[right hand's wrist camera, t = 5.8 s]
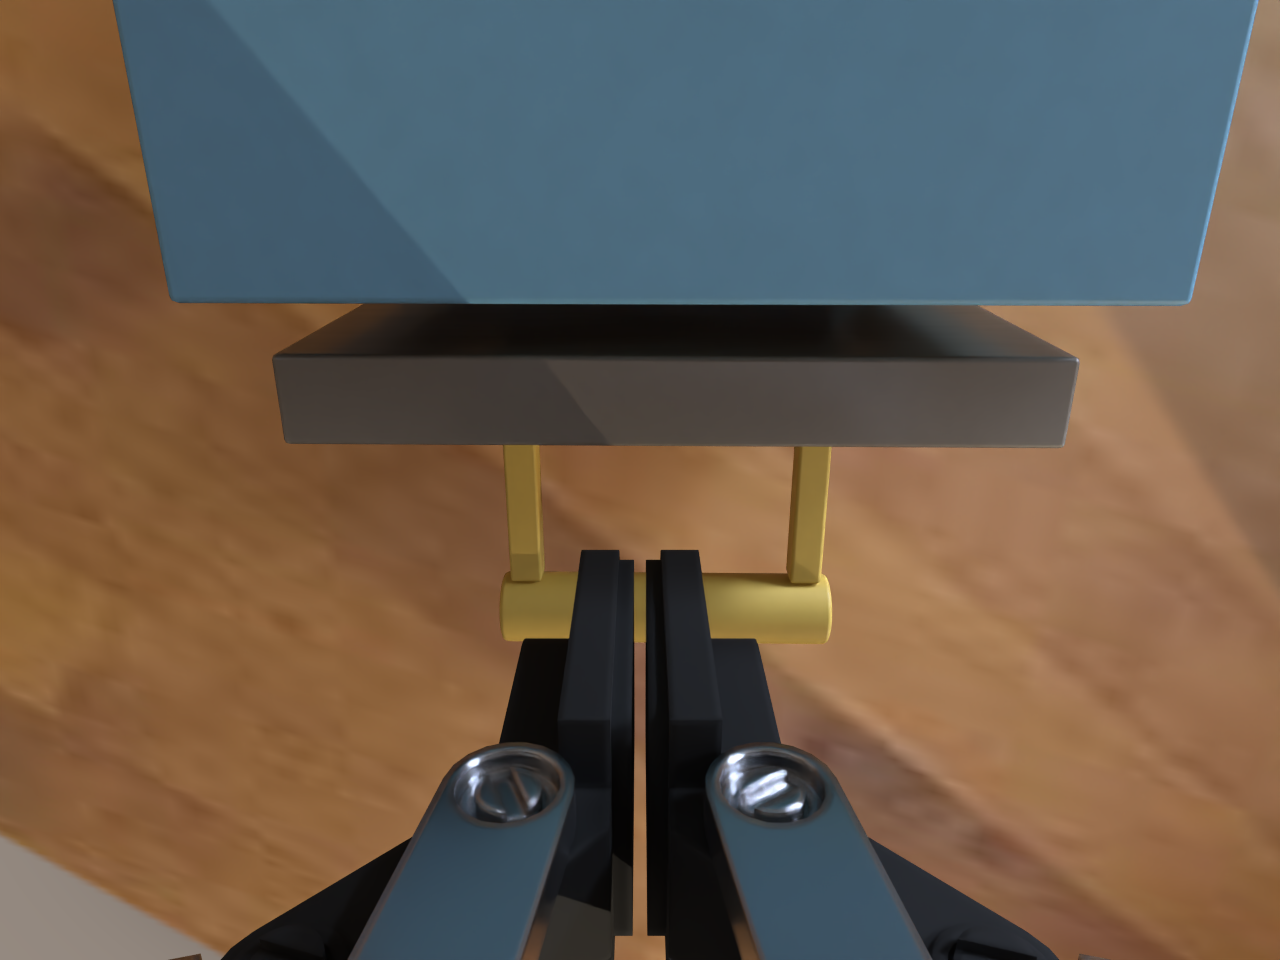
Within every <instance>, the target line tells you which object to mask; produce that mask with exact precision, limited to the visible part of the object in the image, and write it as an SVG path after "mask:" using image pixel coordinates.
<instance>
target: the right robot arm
mask: <svg viewBox="0 0 1280 960" xmlns="http://www.w3.org/2000/svg"><path fill="white" fill-rule="evenodd" d="M633 836H634V560H620V557H619V550H582V551H581V557H580V564H579V571H578V578H577V585H576V592H575V599H574V606H573V613H572V620H571V628H570V635H569V638H525V639H524V640H523V643H522V647H521V651H520V656H519V660H518V664H517V668H516V673H515V677H514V681H513V686H512V690H511V694H510V699H509V703H508V707H507V712H506V716H505V720H504V725H503V729H502V733H501V737H500V742H499V744H496V745H491V746H486V747H484V748H482V749H479V750H477V751H475V752H472V753H470V754H468V755H466V756H465V757H464V758H462V759H461V760H460V761H458V762H457V763H456V764H454V765H453V766H452V768H451V769H450V770H449V771H448V773H447V774H446V775H445V777H444V778H443V780H442V782H441V784H440V785H439V787H438V789H437V791H436V793H435V795H434V797H433V799H432V801H431V802H430V804H429V806H428V808H427V810H426V812H425V814H424V816H423V818H422V820H421V821H420V823H419V825H418V827H417V829H416V831H415V833H414V835H413V837H411V838H410V839H408V840H406V841H405V842H403V843H401V844H400V845H398V846H396V847H394V848H393V849H391V850H389V851H388V852H386V853H384V854H383V855H381V856H379V857H378V858H376V859H374V860H373V861H371V862H369V863H368V864H366V865H364V866H363V867H361V868H359V869H358V870H356V871H354V872H353V873H351V874H349V875H348V876H346V877H344V878H343V879H341V880H339V881H338V882H336V883H334V884H332V885H331V886H329V887H327V888H326V889H324V890H322V891H321V892H319V893H317V894H316V895H314V896H312V897H311V898H309V899H307V900H306V901H304V902H302V903H301V904H299V905H297V906H296V907H294V908H292V909H291V910H289V911H287V912H286V913H284V914H282V915H281V916H279V917H277V918H276V919H274V920H272V921H270V922H269V923H267V924H265V925H264V926H262V927H260V928H259V929H257V930H255V931H254V932H252V933H251V934H250V935H248V936H247V937H245V938H244V939H243V940H241V941H240V942H239V943H237V944H236V945H235V946H233V947H232V948H231V949H230V950H229V951H228V952H227V953H226V954H225V956H224V957H223V958H222V959H221V960H614V947H615V936H632V935H633ZM646 836H647V935H648V936H665V947H666V960H1059V959H1058V958H1057V957H1056V956H1055V954H1054V953H1053V952H1052V951H1051V950H1050V949H1049V948H1048V947H1047V946H1045V945H1044V944H1043V943H1041V942H1040V941H1039V940H1037V939H1036V938H1035V937H1033V936H1032V935H1030V934H1029V933H1028V932H1026V931H1025V930H1023V929H1021V928H1020V927H1018V926H1016V925H1015V924H1013V923H1011V922H1009V921H1008V920H1006V919H1004V918H1003V917H1001V916H999V915H998V914H996V913H994V912H993V911H991V910H989V909H988V908H986V907H984V906H983V905H981V904H979V903H978V902H976V901H974V900H973V899H971V898H969V897H968V896H966V895H964V894H963V893H961V892H959V891H958V890H956V889H954V888H953V887H951V886H949V885H948V884H946V883H944V882H942V881H941V880H939V879H937V878H936V877H934V876H932V875H931V874H929V873H927V872H926V871H924V870H922V869H921V868H919V867H917V866H916V865H914V864H912V863H911V862H909V861H907V860H906V859H904V858H902V857H901V856H899V855H897V854H896V853H894V852H892V851H891V850H889V849H887V848H886V847H884V846H882V845H880V844H879V843H877V842H875V841H874V840H872V839H870V838H869V837H867V835H866V833H865V831H864V829H863V827H862V825H861V823H860V821H859V820H858V818H857V816H856V814H855V812H854V810H853V808H852V806H851V804H850V802H849V801H848V799H847V797H846V795H845V793H844V791H843V789H842V787H841V785H840V784H839V782H838V780H837V778H836V777H835V775H834V774H833V773H832V771H831V770H830V769H829V768H828V766H827V765H826V764H824V763H823V762H822V761H820V760H819V759H818V758H816V757H815V756H814V755H812V754H810V753H808V752H805V751H803V750H801V749H798V748H796V747H794V746H789V745H784V744H781V742H780V737H779V733H778V729H777V725H776V720H775V716H774V712H773V707H772V703H771V699H770V694H769V690H768V686H767V681H766V677H765V673H764V669H763V664H762V660H761V656H760V651H759V647H758V643H757V640H756V639H755V638H711V635H710V628H709V621H708V613H707V606H706V599H705V592H704V585H703V578H702V571H701V564H700V557H699V551H698V550H661V557H660V560H646ZM170 960H202V958H201V954H196V955H192V956H186V957H181V958H176V959H170ZM1078 960H1110V959H1104V958H1099V957H1094V956H1089V955H1084V954H1079V958H1078Z"/></svg>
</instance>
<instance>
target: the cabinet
mask: <svg viewBox="0 0 1280 960" xmlns="http://www.w3.org/2000/svg"><path fill="white" fill-rule="evenodd" d="M113 4H114V9H115V15H116V20H117V25H118V30H119V35H120V41H121V46H122V51H123V56H124V61H125V67H126V72H127V77H128V82H129V88H130V93H131V98H132V103H133V108H134V114H135V119H136V124H137V129H138V134H139V140H140V145H141V150H142V155H143V160H144V166H145V171H146V176H147V181H148V186H149V192H150V197H151V202H152V207H153V212H154V218H155V223H156V228H157V233H158V238H159V244H160V249H161V254H162V259H163V264H164V270H165V275H166V280H167V285H168V291H169V296H170V298H171V299H172V301H175V302H178V303H366V304H705V305H1045V306H1182V305H1185V304H1188V303H1189V302H1190V300H1191V298H1192V294H1193V289H1194V285H1195V280H1196V276H1197V271H1198V267H1199V262H1200V258H1201V254H1202V249H1203V245H1204V240H1205V236H1206V231H1207V227H1208V222H1209V218H1210V214H1211V209H1212V205H1213V200H1214V196H1215V191H1216V187H1217V182H1218V178H1219V174H1220V169H1221V165H1222V160H1223V156H1224V151H1225V147H1226V142H1227V138H1228V133H1229V129H1230V125H1231V120H1232V116H1233V111H1234V107H1235V102H1236V98H1237V93H1238V89H1239V85H1240V80H1241V76H1242V71H1243V67H1244V62H1245V58H1246V53H1247V49H1248V45H1249V40H1250V36H1251V31H1252V27H1253V22H1254V18H1255V13H1256V9H1257V5H1258V0H113Z"/></svg>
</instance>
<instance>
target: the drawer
mask: <svg viewBox="0 0 1280 960" xmlns="http://www.w3.org/2000/svg"><path fill="white" fill-rule="evenodd" d="M272 361H273V368H274V374H275V381H276V387H277V394H278V400H279V407H280V413H281V420H282V426H283V433H284V439H285V441H286V443H289V444H423V445H503V454H504V471H505V488H506V505H507V521H508V538H509V555H510V572H507V573H506V574H505V576H504V578H503V581H502V586H501V593H500V628H501V633H502V636H503V638H504V639H505V640H507V641H523V640H524V639H525V638H569V635H570V628H571V620H572V613H573V606H574V599H575V592H576V585H577V578H578V572H544V568H545V562H544V540H543V517H542V494H541V471H540V449H539V445H599V446H774V447H794V461H793V476H792V491H791V506H790V521H789V536H788V551H787V566H786V570H787V573H788V574H779V573H702V578H703V585H704V592H705V599H706V606H707V613H708V621H709V628H710V635H711V638H755V639H756V640H757V643H771V644H824V643H826V642H827V641H828V638H829V635H830V631H831V623H832V601H831V592H830V586H829V583H828V580H827V578H826V576H825V575H823V574H821V569H822V557H823V545H824V532H825V520H826V508H827V496H828V484H829V472H830V460H831V448H832V447H950V448H1061V447H1063V446H1064V444H1065V440H1066V434H1067V429H1068V423H1069V418H1070V412H1071V407H1072V402H1073V396H1074V391H1075V385H1076V380H1077V374H1078V369H1079V359H1078V358H1077V357H1075V356H1073V355H1071V354H1069V353H1067V352H1065V351H1063V350H1061V349H1060V348H1058V347H1056V346H1054V345H1052V344H1050V343H1048V342H1046V341H1044V340H1042V339H1040V338H1039V337H1037V336H1035V335H1033V334H1031V333H1029V332H1027V331H1025V330H1023V329H1021V328H1019V327H1018V326H1016V325H1014V324H1012V323H1010V322H1008V321H1006V320H1004V319H1002V318H1000V317H999V316H997V315H995V314H993V313H991V312H989V311H987V310H985V309H983V308H981V307H979V306H978V305H705V304H366V303H365V304H363V305H361V306H359V307H357V308H356V309H354V310H352V311H350V312H349V313H347V314H345V315H343V316H342V317H340V318H338V319H336V320H335V321H333V322H331V323H329V324H328V325H326V326H324V327H322V328H320V329H319V330H317V331H315V332H313V333H312V334H310V335H308V336H306V337H305V338H303V339H301V340H299V341H298V342H296V343H294V344H292V345H290V346H289V347H287V348H285V349H283V350H282V351H280V352H278V353H276V354H275V355H273V359H272ZM634 642H646V572H634Z"/></svg>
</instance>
